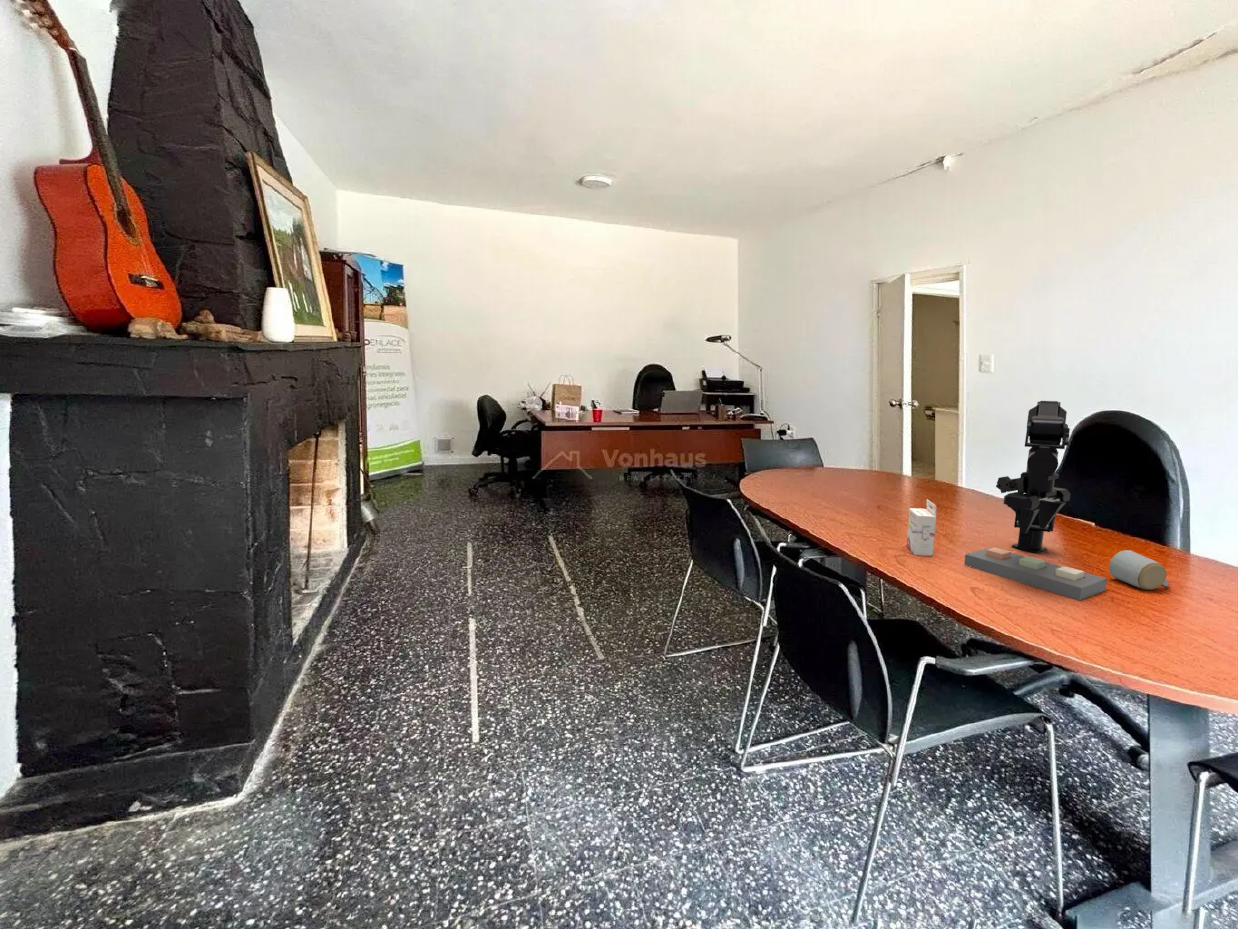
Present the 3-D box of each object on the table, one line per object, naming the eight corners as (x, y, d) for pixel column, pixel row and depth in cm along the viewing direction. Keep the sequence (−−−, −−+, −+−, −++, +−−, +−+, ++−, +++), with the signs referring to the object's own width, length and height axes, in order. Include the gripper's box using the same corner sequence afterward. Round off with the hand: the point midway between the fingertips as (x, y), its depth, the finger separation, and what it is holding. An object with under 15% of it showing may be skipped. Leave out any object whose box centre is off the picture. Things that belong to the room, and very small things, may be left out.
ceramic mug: (1138, 592, 130) (1144, 561, 128) (1105, 578, 138) (1110, 549, 137) (1179, 591, 131) (1185, 560, 129) (1144, 578, 139) (1150, 549, 137)
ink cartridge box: (905, 545, 164) (909, 497, 161) (923, 546, 163) (927, 498, 160) (914, 555, 156) (919, 504, 153) (933, 556, 155) (938, 505, 152)
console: (990, 557, 153) (991, 547, 153) (1105, 590, 131) (1107, 578, 130) (964, 564, 148) (965, 554, 147) (1079, 600, 125) (1081, 588, 125)
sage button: (1026, 565, 142) (1028, 556, 141) (1044, 570, 138) (1045, 561, 138) (1018, 568, 140) (1019, 558, 139) (1036, 573, 136) (1037, 563, 136)
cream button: (1063, 575, 135) (1064, 566, 134) (1082, 581, 131) (1084, 571, 131) (1054, 578, 133) (1056, 569, 132) (1074, 584, 129) (1075, 574, 129)
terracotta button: (994, 556, 149) (995, 547, 148) (1010, 560, 145) (1011, 551, 145) (985, 558, 147) (986, 549, 146) (1001, 563, 143) (1002, 554, 143)
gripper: (1025, 461, 146) (1018, 518, 149) (984, 467, 138) (977, 527, 140) (1075, 468, 136) (1066, 528, 139) (1034, 475, 128) (1026, 539, 131)
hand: (1032, 530), depth 138 cm, fingers open, 8 cm apart
